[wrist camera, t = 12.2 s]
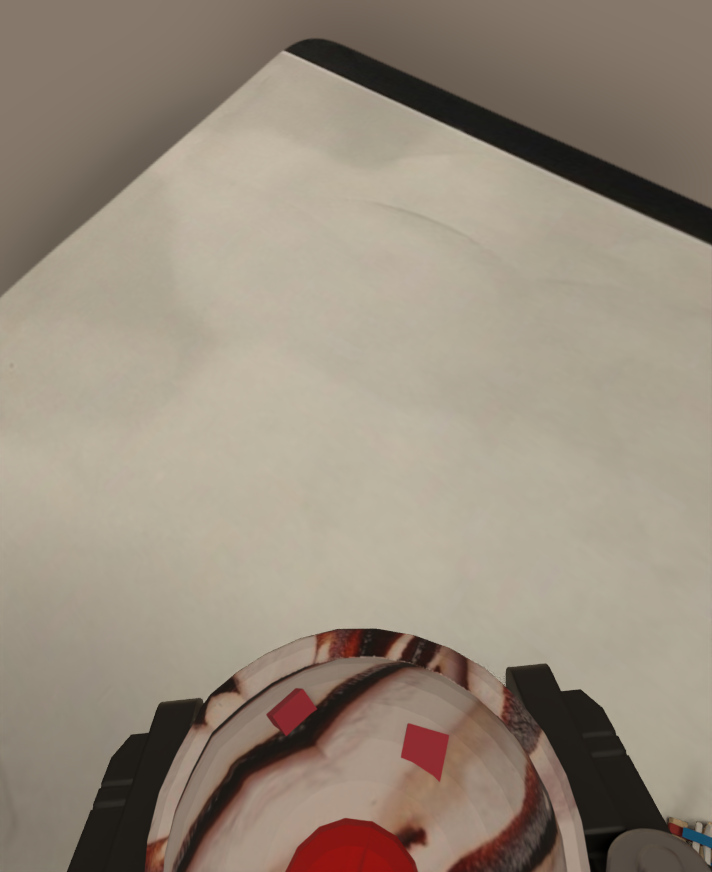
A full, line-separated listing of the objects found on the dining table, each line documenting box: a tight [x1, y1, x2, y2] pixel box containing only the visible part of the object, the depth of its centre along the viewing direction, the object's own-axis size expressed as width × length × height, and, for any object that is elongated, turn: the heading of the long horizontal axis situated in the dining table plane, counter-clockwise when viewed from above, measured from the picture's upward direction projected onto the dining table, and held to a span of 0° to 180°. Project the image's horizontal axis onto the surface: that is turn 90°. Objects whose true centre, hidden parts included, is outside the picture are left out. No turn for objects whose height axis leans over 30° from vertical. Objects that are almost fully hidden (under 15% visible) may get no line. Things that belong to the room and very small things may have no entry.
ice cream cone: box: [145, 629, 590, 872], centre depth 12 cm, size 6×6×15 cm
